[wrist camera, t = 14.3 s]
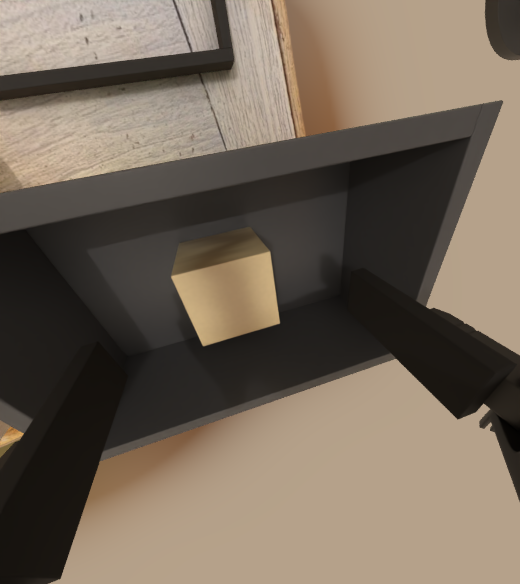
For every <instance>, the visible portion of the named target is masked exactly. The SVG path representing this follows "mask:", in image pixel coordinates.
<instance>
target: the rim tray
mask: <svg viewBox="0 0 520 584" xmlns="http://www.w3.org/2000/svg"><path fill="white" fill-rule="evenodd" d="M211 4H212V10H213V16H214V21H215V27H216V32H217V38H218V43H219V49H216V50H208V51H200V52H192V53H184V54H176V55H167V56H159V57H151V58H143V59H135V60H127V61H118V62H110V63H102V64H94V65H86V66H78V67H69V68H61V69H53V70H45V71H37V72H29V73H20V74H12V75H4V76H0V100H7V99H14V98H22V97H29V96H37V95H44V94H51V93H59V92H66V91H74V90H81V89H88V88H96V87H103V86H110V85H118V84H125V83H133V82H140V81H147V80H155V79H162V78H169V77H177V76H184V75H192V74H199V73H206V72H214V71H221V70H229V69H231V68H232V65H233V62H234V56H233V49H232V43H231V36H230V30H229V24H228V17H227V11H226V4H225V0H211Z"/></svg>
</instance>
